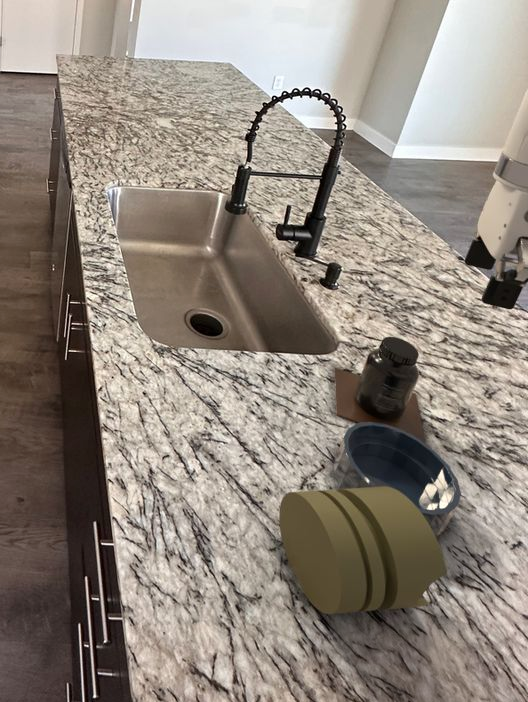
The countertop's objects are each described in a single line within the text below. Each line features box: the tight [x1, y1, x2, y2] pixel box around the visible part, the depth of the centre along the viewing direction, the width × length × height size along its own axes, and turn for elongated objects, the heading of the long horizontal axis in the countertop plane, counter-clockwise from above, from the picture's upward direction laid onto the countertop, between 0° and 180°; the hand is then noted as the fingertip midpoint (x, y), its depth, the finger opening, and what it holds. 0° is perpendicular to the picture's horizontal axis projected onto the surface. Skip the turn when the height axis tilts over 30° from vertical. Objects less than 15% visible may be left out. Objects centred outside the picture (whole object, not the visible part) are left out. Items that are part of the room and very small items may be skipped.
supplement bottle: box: [355, 336, 420, 420], centre depth 85 cm, size 7×7×12 cm
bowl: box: [333, 422, 462, 538], centre depth 73 cm, size 13×13×6 cm
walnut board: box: [333, 367, 427, 445], centre depth 88 cm, size 12×11×1 cm
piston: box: [278, 486, 448, 615], centre depth 62 cm, size 11×12×11 cm
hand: (486, 284), depth 74 cm, fingers open, 9 cm apart
